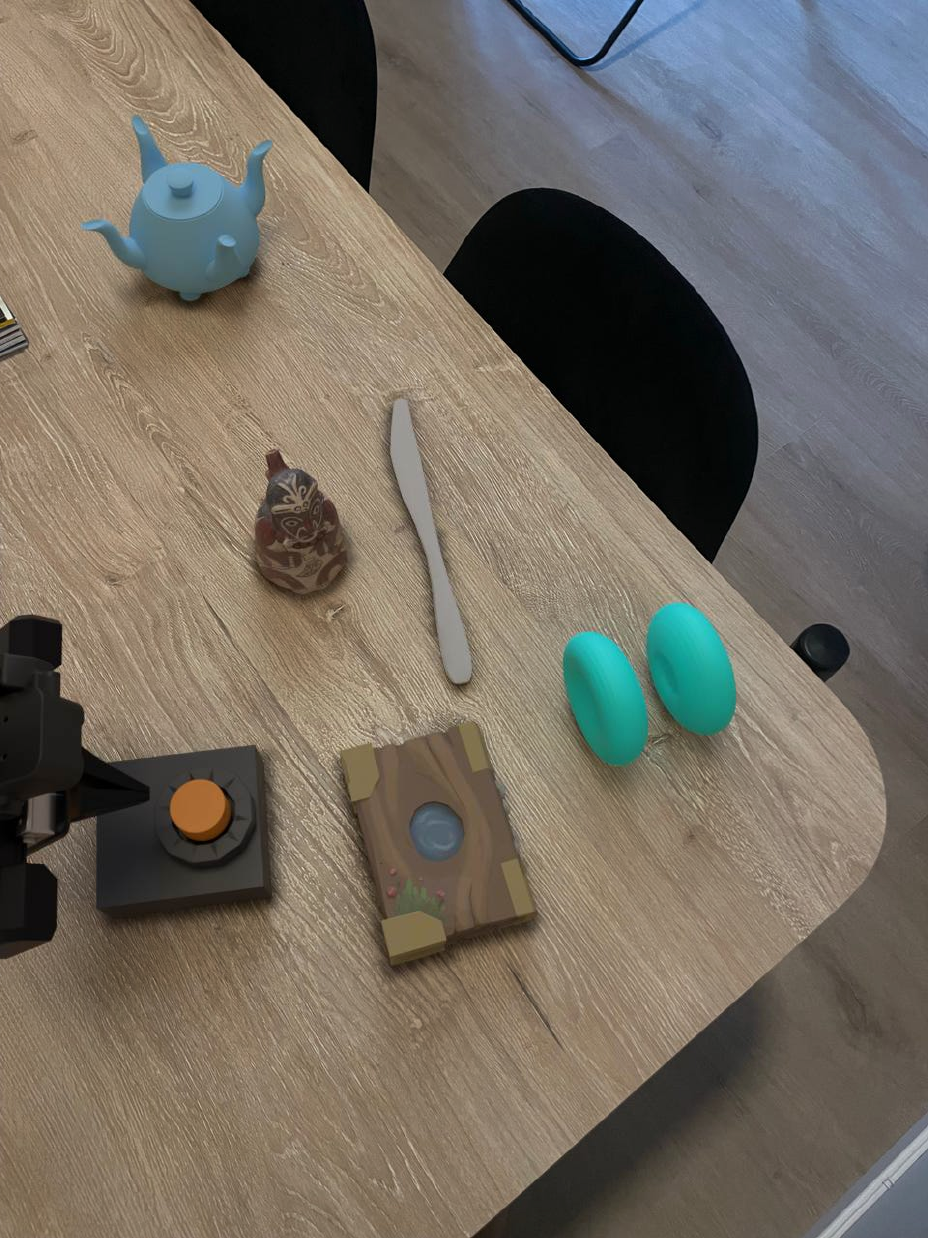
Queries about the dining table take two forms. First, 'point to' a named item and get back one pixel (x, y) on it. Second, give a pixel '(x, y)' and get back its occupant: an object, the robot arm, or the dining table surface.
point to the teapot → (189, 222)
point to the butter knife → (429, 544)
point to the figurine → (297, 530)
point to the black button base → (184, 839)
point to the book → (437, 840)
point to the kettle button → (200, 810)
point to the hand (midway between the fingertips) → (146, 795)
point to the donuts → (681, 672)
